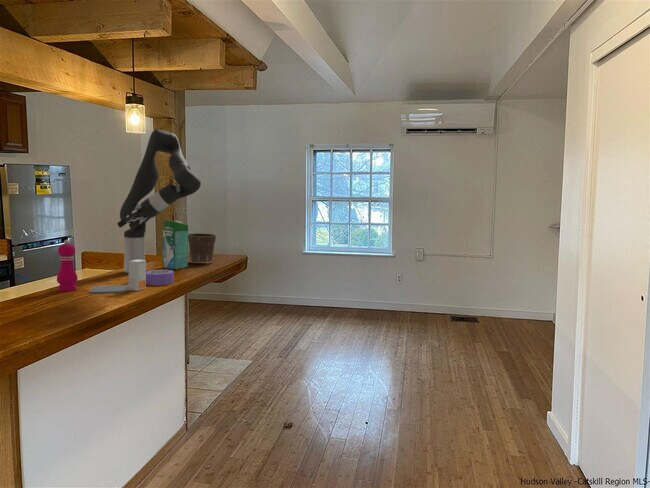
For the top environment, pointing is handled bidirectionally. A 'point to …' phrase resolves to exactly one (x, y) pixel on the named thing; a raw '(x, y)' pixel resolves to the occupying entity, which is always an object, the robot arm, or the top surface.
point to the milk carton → (175, 244)
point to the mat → (109, 289)
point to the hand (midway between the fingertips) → (124, 226)
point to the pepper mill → (66, 268)
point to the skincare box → (137, 275)
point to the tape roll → (159, 277)
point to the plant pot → (201, 247)
